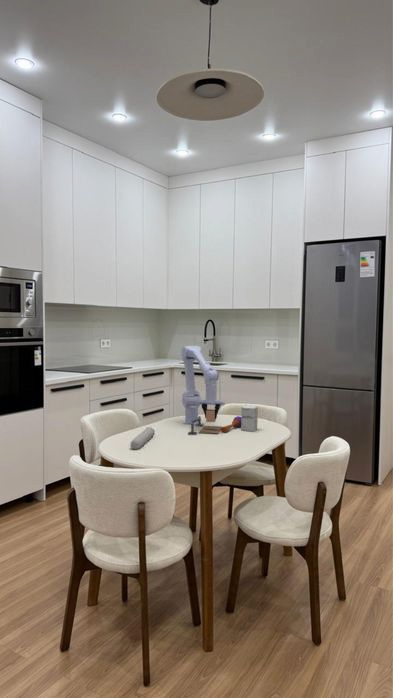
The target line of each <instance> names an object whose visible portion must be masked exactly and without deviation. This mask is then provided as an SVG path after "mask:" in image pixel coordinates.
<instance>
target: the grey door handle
mask: <svg viewBox="0 0 393 698" xmlns="http://www.w3.org/2000/svg"><path fill="white" fill-rule="evenodd" d="M196 421H198V423H197V424H193V423H194V422H196ZM204 426H205V425H204V423H202V416H201V415H198V419H196V420H194V421H192V424H190V430H189V431H188V432H187V435H188V436H196V435H197V434H198V431H195V427H199V428H203V427H204Z"/></svg>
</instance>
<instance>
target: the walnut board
mask: <svg viewBox="0 0 393 698" xmlns="http://www.w3.org/2000/svg"><path fill="white" fill-rule="evenodd" d="M222 427H223V426H221V425H220V426H219V425H218V426H217V425H203V427H201V428H200V430H199V431H198V434H202V435H203V434H205V435H219V433H220V432H221V428H222Z"/></svg>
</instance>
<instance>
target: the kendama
mask: <svg viewBox="0 0 393 698" xmlns="http://www.w3.org/2000/svg"><path fill="white" fill-rule="evenodd" d="M233 427H234V428H241V416H238V415H237V416H235V417H234V418H233V420H232V422H231V424H228V425H226V426H225V425H224V426H222V428H221V430H220V432H221V433H223V434H226V433H227V432H228V431H229V430H230V429H231V428H233Z"/></svg>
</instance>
